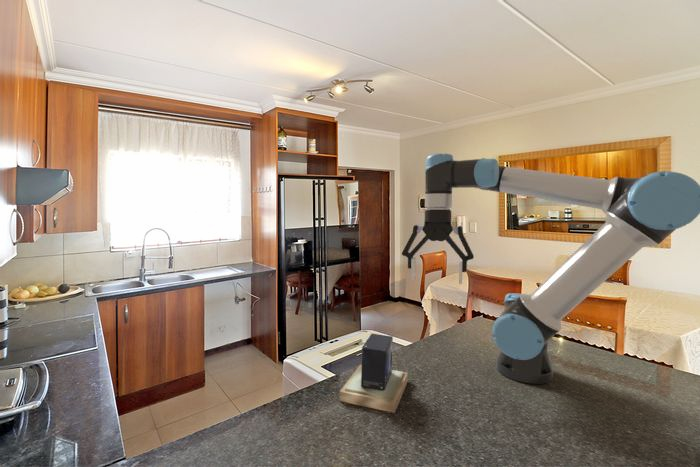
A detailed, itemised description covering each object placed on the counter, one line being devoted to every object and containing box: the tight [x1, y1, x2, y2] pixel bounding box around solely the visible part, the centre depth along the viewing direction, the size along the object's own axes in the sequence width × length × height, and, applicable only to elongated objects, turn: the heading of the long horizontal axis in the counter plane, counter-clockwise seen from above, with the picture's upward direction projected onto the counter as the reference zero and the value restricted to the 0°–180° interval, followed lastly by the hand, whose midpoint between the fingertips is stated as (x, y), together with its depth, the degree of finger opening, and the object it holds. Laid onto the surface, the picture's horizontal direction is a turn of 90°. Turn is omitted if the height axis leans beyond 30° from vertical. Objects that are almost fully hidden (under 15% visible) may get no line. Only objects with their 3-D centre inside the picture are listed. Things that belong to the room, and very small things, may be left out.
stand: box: [339, 364, 409, 414], centre depth 92 cm, size 14×16×3 cm
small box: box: [361, 333, 394, 391], centre depth 91 cm, size 11×6×10 cm, turn 163°
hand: (436, 281), depth 102 cm, fingers open, 13 cm apart
